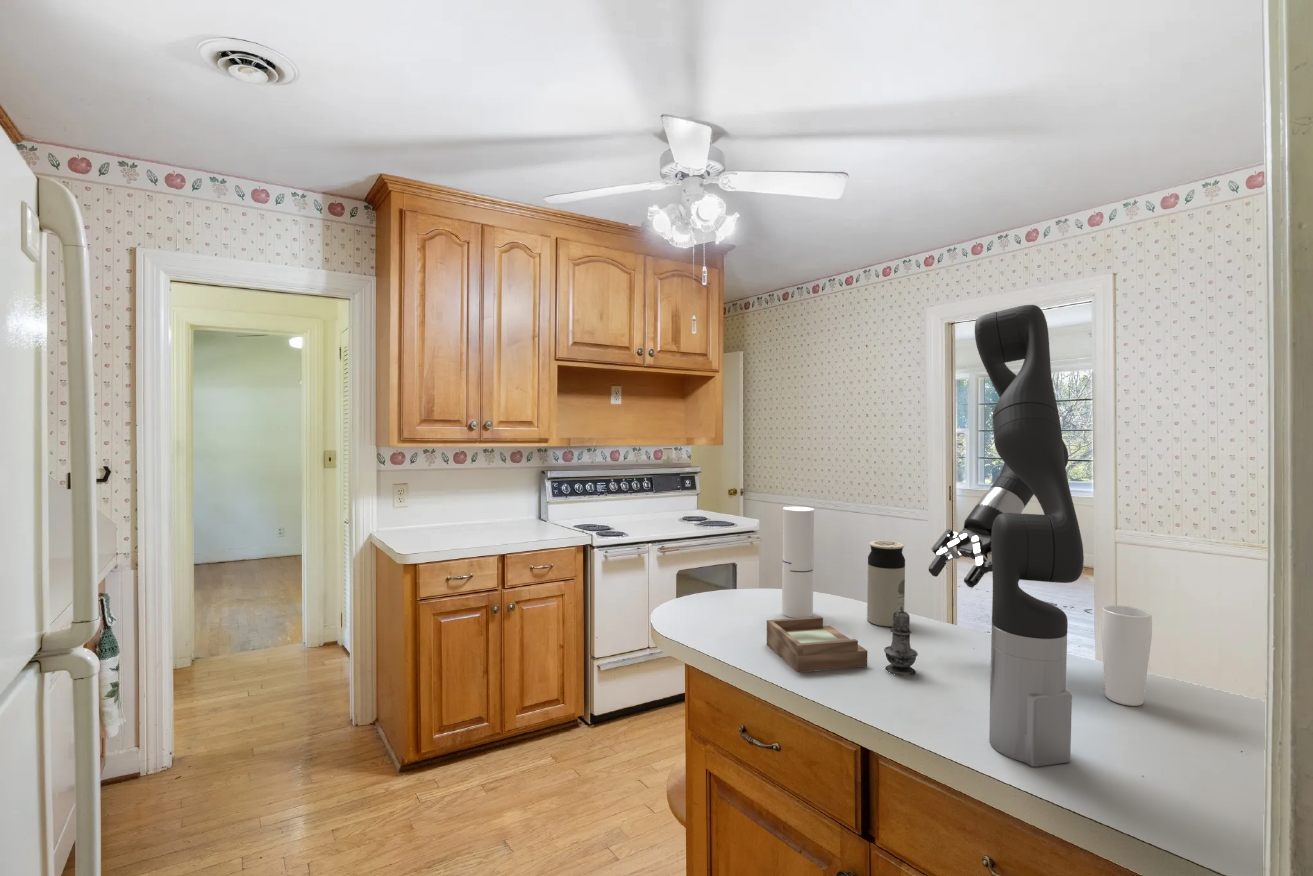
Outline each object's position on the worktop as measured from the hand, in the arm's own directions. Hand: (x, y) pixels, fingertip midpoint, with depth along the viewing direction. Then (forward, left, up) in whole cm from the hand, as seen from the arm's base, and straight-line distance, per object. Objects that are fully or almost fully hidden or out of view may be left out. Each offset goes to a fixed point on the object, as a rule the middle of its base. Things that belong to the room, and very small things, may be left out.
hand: (949, 579), depth 124 cm
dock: (+8, +23, -16) cm, 30 cm away
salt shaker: (-2, +11, -16) cm, 20 cm away
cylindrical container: (+34, +15, -16) cm, 41 cm away
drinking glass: (-21, -18, -16) cm, 32 cm away
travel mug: (+24, -2, -16) cm, 29 cm away
